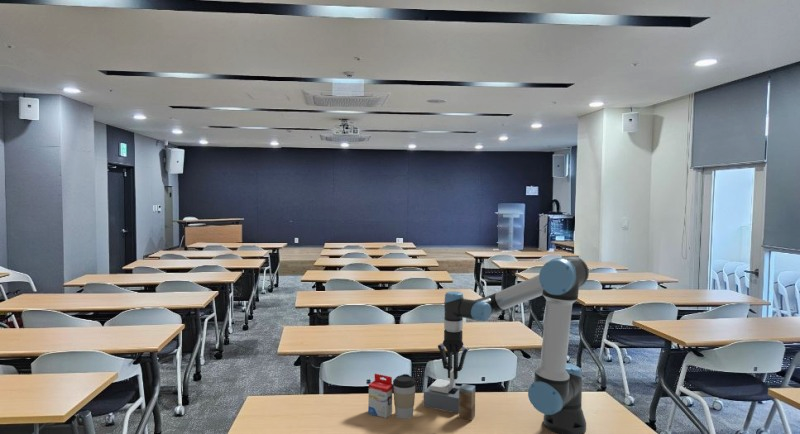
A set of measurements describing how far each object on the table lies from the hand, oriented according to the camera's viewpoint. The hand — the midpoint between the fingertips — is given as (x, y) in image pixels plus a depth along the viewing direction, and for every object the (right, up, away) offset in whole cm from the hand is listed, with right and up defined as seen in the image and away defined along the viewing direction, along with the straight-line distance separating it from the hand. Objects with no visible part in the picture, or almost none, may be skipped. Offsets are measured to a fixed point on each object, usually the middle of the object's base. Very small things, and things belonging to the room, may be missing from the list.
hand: (452, 386), depth 190 cm
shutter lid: (-4, -2, +2) cm, 5 cm away
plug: (+4, -8, -11) cm, 14 cm away
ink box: (-29, -8, -8) cm, 32 cm away
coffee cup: (-20, -8, -9) cm, 23 cm away
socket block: (-3, -8, +1) cm, 8 cm away
